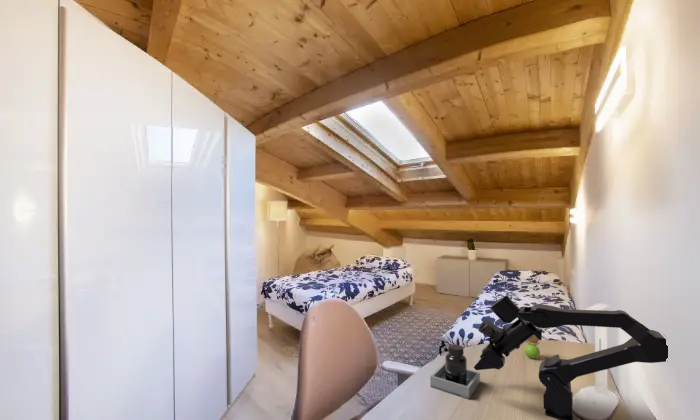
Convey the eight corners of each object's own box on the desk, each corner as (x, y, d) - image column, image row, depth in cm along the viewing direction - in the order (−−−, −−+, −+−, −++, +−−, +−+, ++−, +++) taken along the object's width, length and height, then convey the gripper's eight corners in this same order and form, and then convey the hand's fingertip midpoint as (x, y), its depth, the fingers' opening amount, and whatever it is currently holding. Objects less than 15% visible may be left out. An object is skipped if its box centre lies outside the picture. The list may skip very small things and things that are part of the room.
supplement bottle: (442, 384, 106) (441, 347, 106) (449, 376, 111) (449, 341, 112) (462, 391, 101) (462, 352, 102) (469, 382, 107) (469, 346, 107)
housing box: (479, 383, 108) (479, 372, 108) (468, 399, 98) (468, 387, 98) (444, 372, 115) (444, 362, 115) (430, 386, 105) (430, 376, 105)
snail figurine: (522, 353, 132) (521, 324, 133) (540, 357, 129) (539, 327, 129) (521, 358, 127) (520, 328, 128) (540, 362, 124) (539, 330, 125)
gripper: (499, 306, 108) (466, 333, 114) (489, 320, 93) (451, 351, 98) (526, 334, 104) (490, 361, 109) (520, 354, 88) (479, 384, 94)
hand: (478, 363), depth 103 cm, fingers open, 9 cm apart
